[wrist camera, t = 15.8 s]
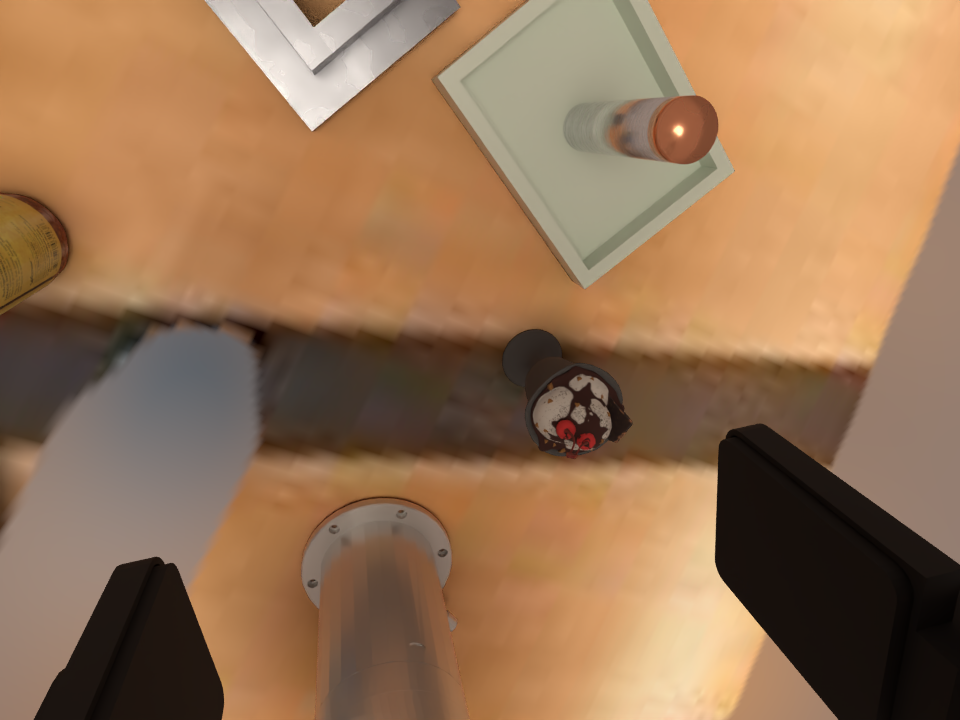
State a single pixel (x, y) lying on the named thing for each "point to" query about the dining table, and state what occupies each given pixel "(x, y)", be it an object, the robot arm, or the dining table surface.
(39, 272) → the sauce bottle
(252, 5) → the block
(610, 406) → the sundae
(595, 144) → the pin
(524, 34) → the tray
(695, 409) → the dining table surface
